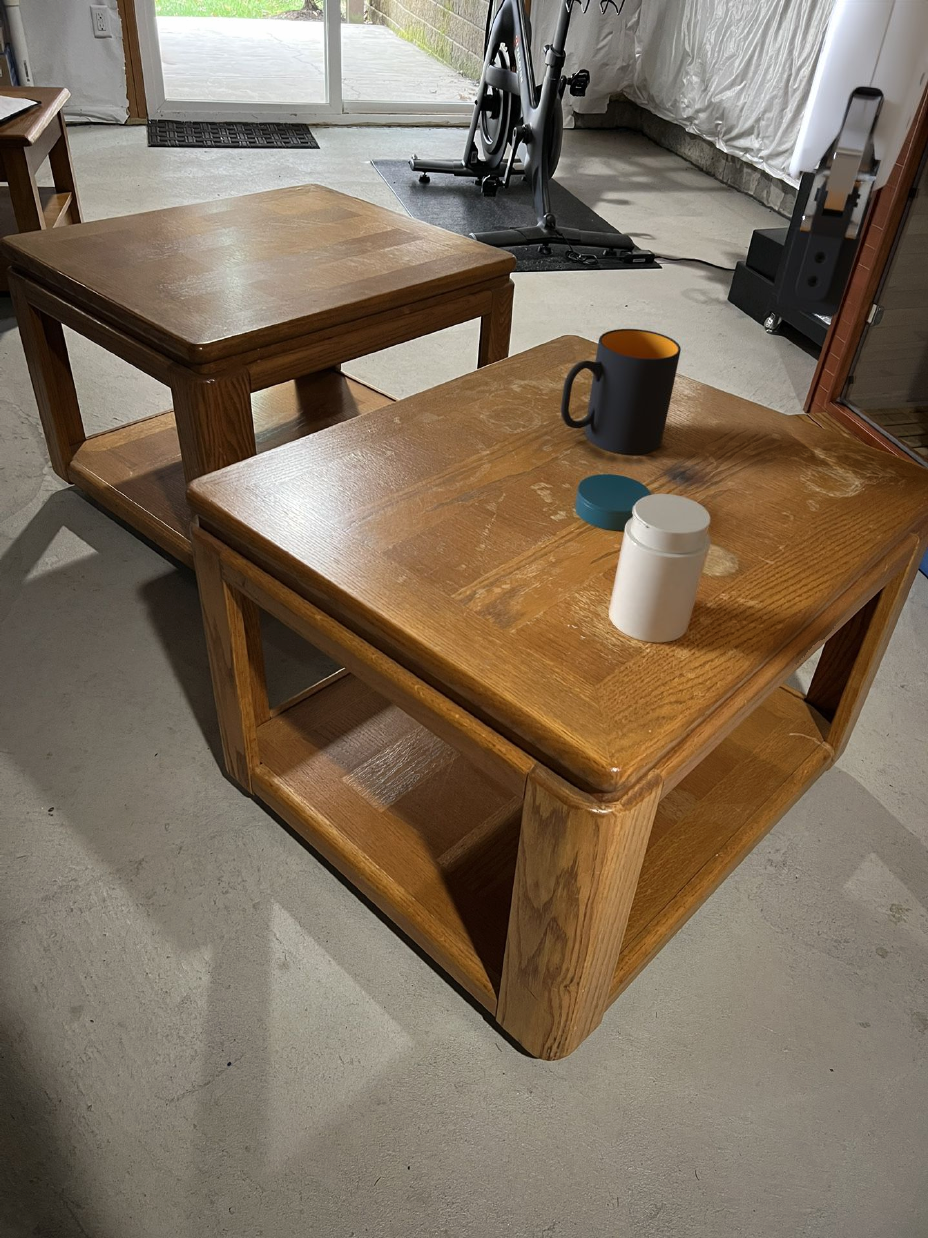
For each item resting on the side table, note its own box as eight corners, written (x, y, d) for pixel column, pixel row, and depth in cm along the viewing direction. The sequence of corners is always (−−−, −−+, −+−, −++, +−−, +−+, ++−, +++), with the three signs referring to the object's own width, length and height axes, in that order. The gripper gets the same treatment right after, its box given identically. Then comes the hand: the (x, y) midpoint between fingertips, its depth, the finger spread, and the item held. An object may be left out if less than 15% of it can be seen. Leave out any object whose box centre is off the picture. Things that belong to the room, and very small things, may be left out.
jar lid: (562, 516, 86) (565, 496, 85) (589, 485, 91) (593, 466, 90) (633, 538, 84) (637, 518, 83) (657, 506, 89) (661, 486, 88)
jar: (651, 586, 78) (675, 483, 72) (705, 628, 74) (734, 522, 68) (592, 607, 75) (611, 502, 69) (644, 652, 71) (669, 544, 65)
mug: (541, 426, 101) (552, 333, 95) (639, 416, 105) (656, 325, 98) (572, 462, 95) (587, 365, 89) (675, 450, 99) (696, 356, 92)
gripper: (852, -89, 51) (770, 238, 61) (821, -99, 38) (723, 318, 48) (1001, -79, 49) (889, 258, 59) (1021, -85, 36) (874, 347, 46)
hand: (815, 285), depth 54 cm, fingers open, 9 cm apart
